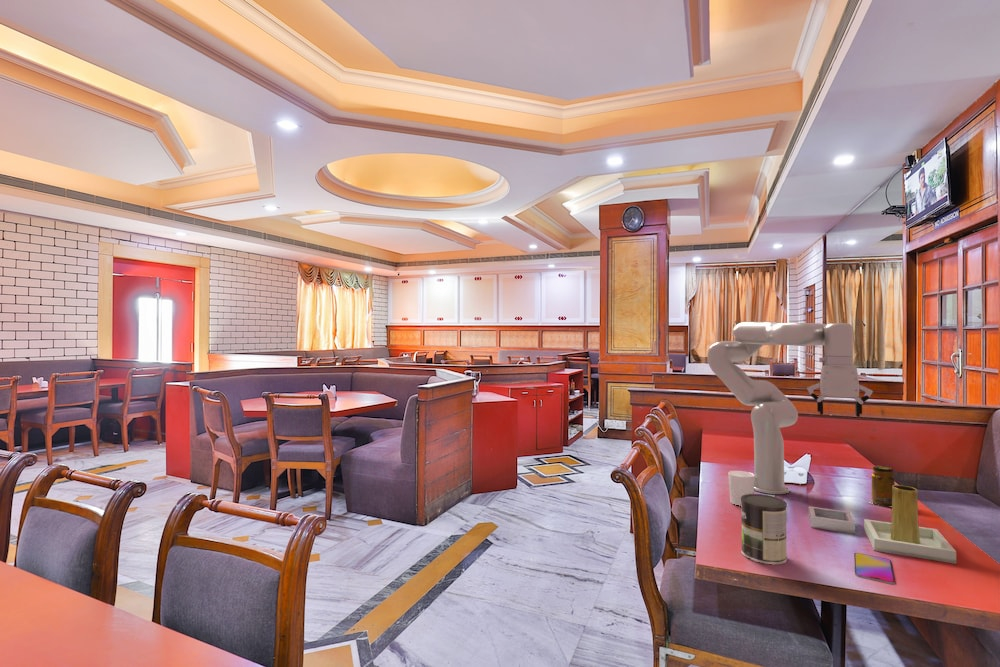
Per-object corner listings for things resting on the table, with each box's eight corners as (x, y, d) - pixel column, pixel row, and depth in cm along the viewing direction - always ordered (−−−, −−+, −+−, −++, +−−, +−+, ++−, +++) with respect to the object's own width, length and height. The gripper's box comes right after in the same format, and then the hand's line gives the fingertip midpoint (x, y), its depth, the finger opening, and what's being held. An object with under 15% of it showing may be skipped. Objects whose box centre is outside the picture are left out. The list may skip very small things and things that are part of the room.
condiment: (874, 499, 169) (873, 463, 169) (905, 505, 162) (905, 468, 162) (867, 503, 164) (867, 467, 164) (899, 510, 157) (899, 472, 158)
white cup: (729, 506, 162) (728, 475, 162) (727, 499, 169) (727, 469, 169) (756, 509, 159) (755, 478, 159) (753, 501, 166) (753, 471, 166)
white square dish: (811, 527, 143) (811, 516, 143) (808, 516, 152) (808, 506, 152) (855, 534, 138) (854, 523, 138) (849, 521, 147) (849, 511, 147)
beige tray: (874, 550, 127) (874, 538, 127) (864, 529, 141) (864, 519, 141) (956, 563, 120) (956, 551, 120) (936, 540, 134) (936, 529, 134)
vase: (913, 548, 127) (912, 492, 127) (885, 539, 132) (885, 486, 132) (924, 543, 130) (924, 489, 130) (897, 535, 135) (897, 483, 135)
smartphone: (890, 559, 122) (895, 583, 110) (890, 562, 122) (895, 586, 110) (854, 552, 126) (854, 574, 114) (854, 554, 126) (854, 577, 114)
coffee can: (739, 559, 123) (739, 502, 123) (742, 544, 132) (742, 491, 132) (787, 568, 118) (786, 509, 118) (787, 552, 126) (787, 497, 127)
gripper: (807, 361, 159) (808, 414, 159) (874, 362, 151) (875, 418, 150) (806, 360, 165) (806, 411, 165) (869, 361, 157) (870, 415, 157)
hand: (839, 415), depth 158 cm, fingers open, 9 cm apart
